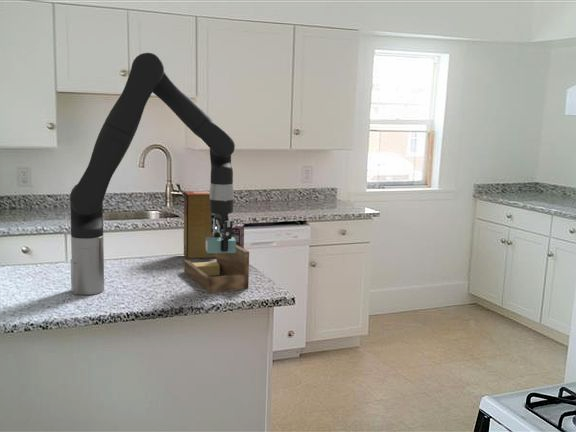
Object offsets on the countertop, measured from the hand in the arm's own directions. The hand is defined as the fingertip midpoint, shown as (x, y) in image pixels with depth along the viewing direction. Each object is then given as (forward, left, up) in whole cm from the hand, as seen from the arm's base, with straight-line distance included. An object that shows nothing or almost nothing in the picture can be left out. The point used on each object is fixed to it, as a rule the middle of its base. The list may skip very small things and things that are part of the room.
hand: (220, 249), depth 188 cm
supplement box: (+12, +17, -12) cm, 24 cm away
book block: (0, 0, -1) cm, 1 cm away
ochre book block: (0, +15, -12) cm, 19 cm away
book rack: (0, +6, -12) cm, 13 cm away
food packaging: (+7, +40, -12) cm, 42 cm away
